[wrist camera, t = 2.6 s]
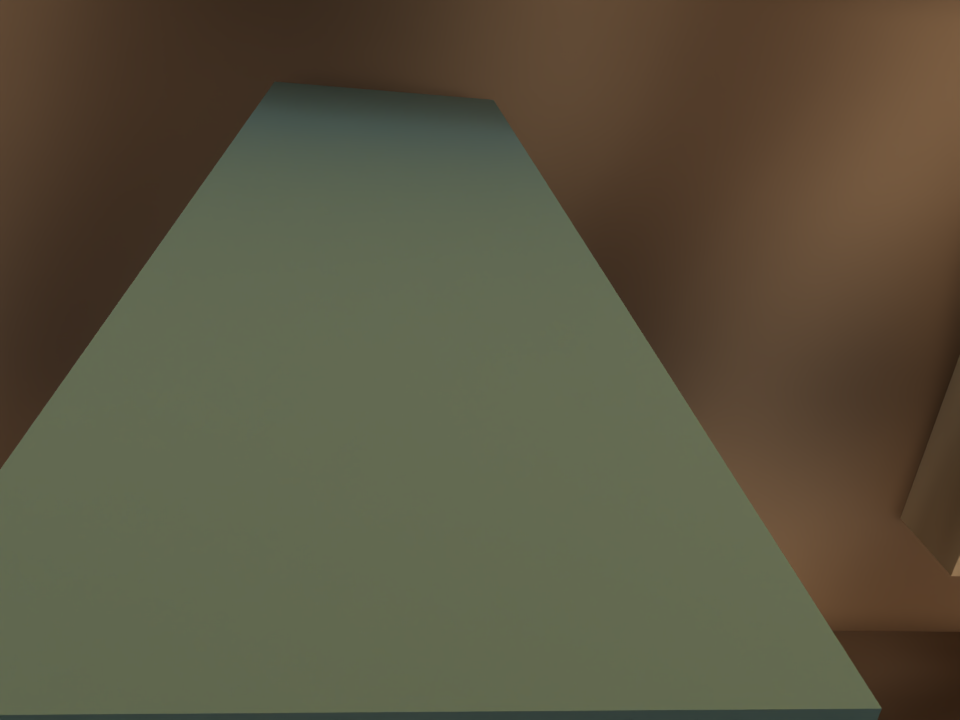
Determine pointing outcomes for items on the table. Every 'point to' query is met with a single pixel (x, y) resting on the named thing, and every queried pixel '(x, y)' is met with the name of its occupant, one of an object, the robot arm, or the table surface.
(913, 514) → the offcut
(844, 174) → the rack
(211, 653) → the teal block
